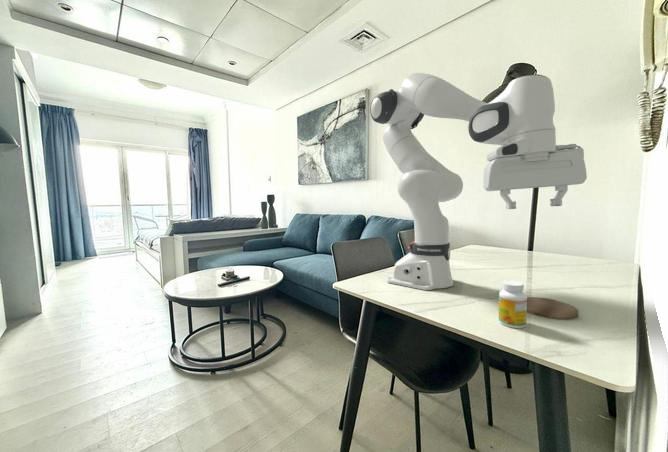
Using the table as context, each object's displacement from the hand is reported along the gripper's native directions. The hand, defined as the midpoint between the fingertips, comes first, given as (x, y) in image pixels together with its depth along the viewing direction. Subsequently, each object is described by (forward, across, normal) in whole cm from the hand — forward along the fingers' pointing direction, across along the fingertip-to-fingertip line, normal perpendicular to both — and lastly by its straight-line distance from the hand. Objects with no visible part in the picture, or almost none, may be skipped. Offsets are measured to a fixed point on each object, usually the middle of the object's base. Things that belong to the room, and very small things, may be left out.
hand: (533, 207), depth 64 cm
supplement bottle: (+27, +7, +3) cm, 28 cm away
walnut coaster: (+27, -6, -6) cm, 28 cm away
